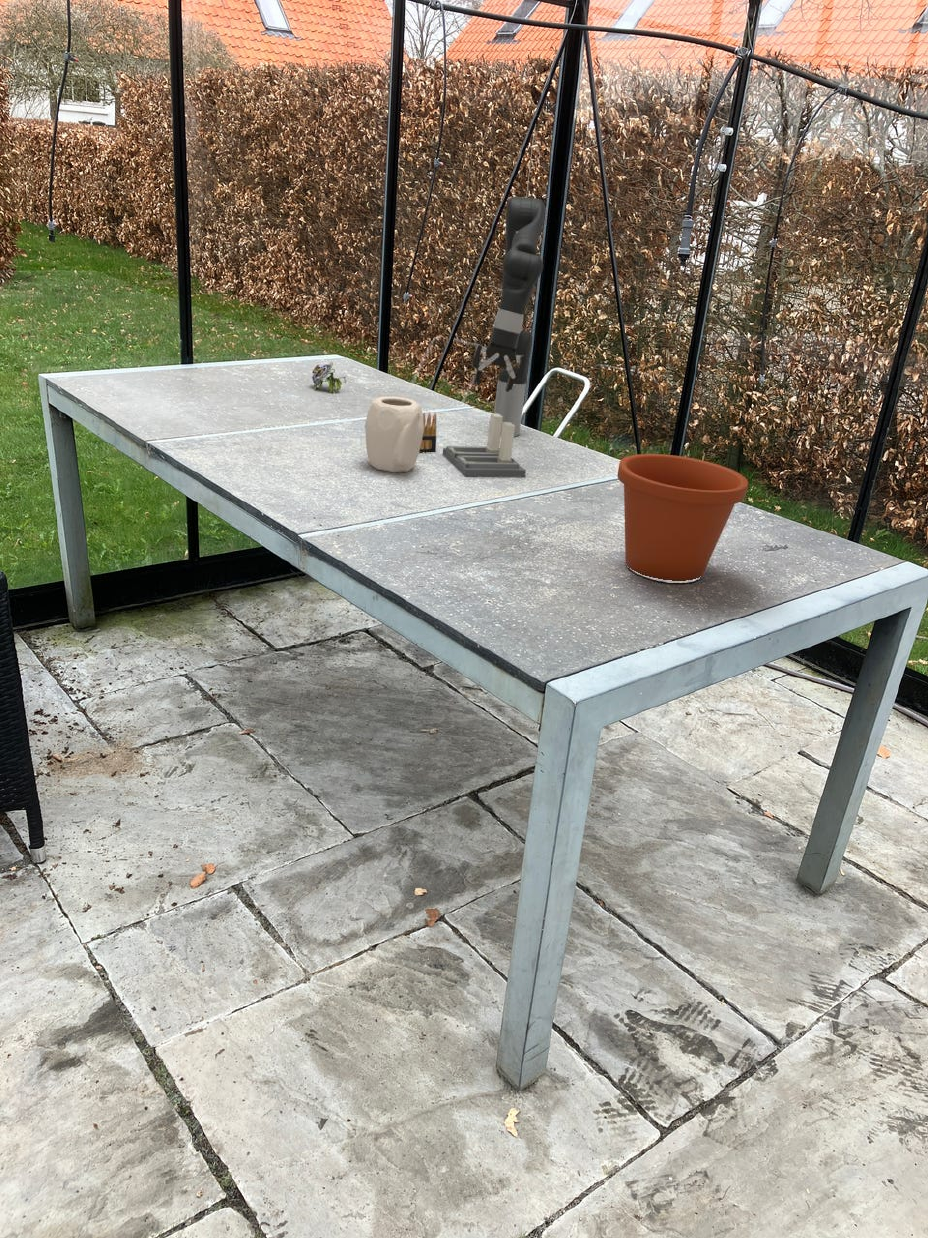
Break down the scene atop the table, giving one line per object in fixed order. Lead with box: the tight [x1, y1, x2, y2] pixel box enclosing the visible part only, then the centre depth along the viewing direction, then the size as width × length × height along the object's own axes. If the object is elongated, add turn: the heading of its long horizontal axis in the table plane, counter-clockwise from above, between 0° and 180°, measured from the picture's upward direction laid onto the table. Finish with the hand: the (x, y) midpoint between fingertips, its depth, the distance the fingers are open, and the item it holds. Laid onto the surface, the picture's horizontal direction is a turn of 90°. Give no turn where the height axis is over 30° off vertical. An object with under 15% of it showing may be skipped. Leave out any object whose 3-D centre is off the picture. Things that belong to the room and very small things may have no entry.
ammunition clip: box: [419, 412, 437, 454], centre depth 288 cm, size 11×2×12 cm, turn 117°
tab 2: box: [497, 422, 515, 463], centre depth 278 cm, size 4×3×12 cm
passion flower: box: [311, 361, 347, 394], centre depth 353 cm, size 11×11×12 cm
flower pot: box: [616, 453, 749, 581], centre depth 217 cm, size 28×28×23 cm
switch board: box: [442, 445, 527, 478], centre depth 284 cm, size 22×18×3 cm
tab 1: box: [485, 412, 503, 453], centre depth 287 cm, size 4×3×12 cm
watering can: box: [364, 396, 424, 473], centre depth 268 cm, size 16×27×19 cm, turn 29°
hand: (492, 387), depth 269 cm, fingers open, 8 cm apart
